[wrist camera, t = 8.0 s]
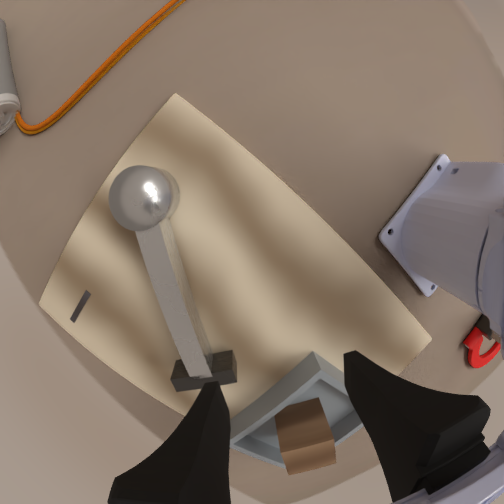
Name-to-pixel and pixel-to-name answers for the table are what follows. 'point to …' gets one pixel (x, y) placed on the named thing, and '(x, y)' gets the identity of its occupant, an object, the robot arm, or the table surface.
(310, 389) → the tray
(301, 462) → the block
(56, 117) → the motor
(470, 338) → the tow hook
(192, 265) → the base board
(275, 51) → the table surface
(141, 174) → the crank lever
